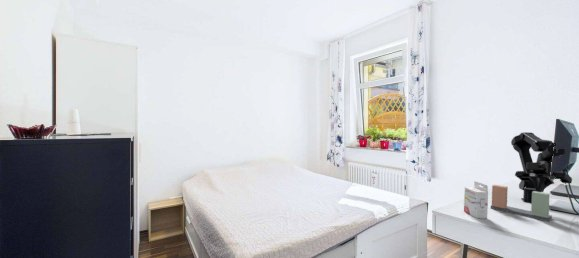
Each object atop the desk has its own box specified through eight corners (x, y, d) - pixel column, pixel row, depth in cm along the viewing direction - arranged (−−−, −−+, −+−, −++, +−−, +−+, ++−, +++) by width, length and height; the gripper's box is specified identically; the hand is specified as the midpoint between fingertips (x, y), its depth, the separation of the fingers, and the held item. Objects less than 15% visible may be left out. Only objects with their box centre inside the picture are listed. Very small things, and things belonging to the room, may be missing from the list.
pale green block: (533, 212, 111) (534, 190, 111) (549, 215, 107) (549, 193, 107) (531, 214, 109) (532, 192, 109) (547, 218, 105) (548, 194, 105)
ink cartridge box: (463, 211, 116) (464, 180, 115) (473, 211, 116) (474, 180, 115) (476, 218, 107) (477, 185, 107) (488, 218, 107) (489, 185, 107)
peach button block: (494, 204, 123) (494, 184, 123) (507, 206, 119) (508, 186, 118) (491, 205, 120) (492, 185, 120) (504, 208, 116) (505, 187, 116)
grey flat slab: (494, 205, 125) (494, 203, 125) (551, 218, 109) (551, 215, 109) (490, 208, 121) (490, 205, 121) (549, 221, 105) (549, 218, 105)
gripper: (511, 155, 126) (504, 182, 122) (560, 154, 109) (553, 185, 104) (525, 166, 128) (518, 193, 124) (575, 167, 111) (569, 198, 106)
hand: (537, 192), depth 115 cm, fingers closed
